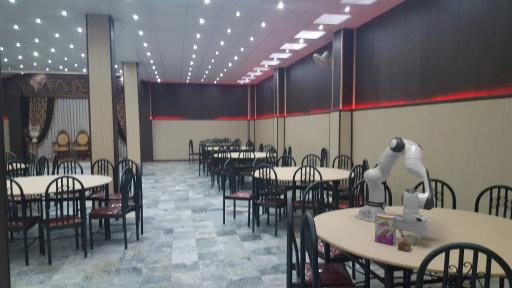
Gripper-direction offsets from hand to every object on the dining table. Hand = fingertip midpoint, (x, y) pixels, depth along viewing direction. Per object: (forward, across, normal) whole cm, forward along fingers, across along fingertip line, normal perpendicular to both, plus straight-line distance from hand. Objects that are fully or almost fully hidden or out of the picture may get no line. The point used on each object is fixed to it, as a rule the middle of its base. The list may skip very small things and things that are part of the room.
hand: (410, 238), depth 208 cm
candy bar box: (+3, -12, -9) cm, 15 cm away
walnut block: (+3, +2, -13) cm, 14 cm away
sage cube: (+3, 0, 0) cm, 3 cm away
